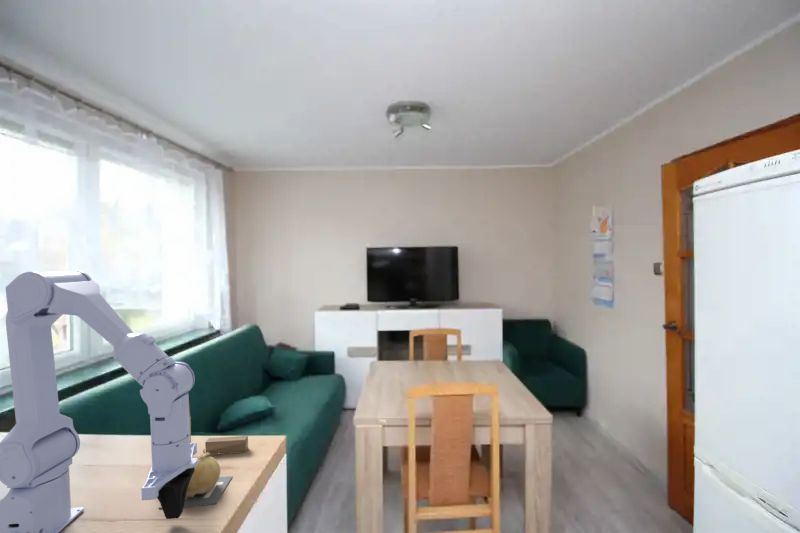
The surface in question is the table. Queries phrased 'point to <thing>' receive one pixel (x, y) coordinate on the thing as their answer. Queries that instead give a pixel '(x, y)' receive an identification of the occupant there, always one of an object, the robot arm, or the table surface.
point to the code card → (208, 494)
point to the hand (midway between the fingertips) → (174, 516)
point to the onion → (203, 475)
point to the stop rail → (227, 444)
